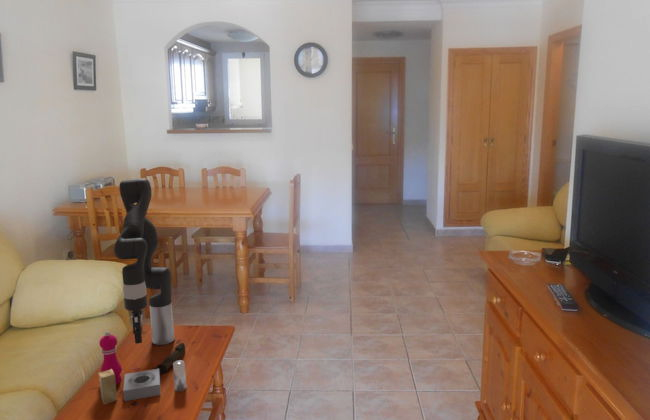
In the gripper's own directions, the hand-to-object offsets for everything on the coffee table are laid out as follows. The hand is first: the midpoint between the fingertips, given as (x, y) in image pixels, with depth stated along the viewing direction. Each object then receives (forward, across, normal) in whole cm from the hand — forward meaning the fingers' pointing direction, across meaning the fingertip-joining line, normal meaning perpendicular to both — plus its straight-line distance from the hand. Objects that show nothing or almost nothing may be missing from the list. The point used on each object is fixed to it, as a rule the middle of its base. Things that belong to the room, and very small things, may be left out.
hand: (139, 337), depth 178 cm
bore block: (+20, 0, 0) cm, 20 cm away
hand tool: (+20, -18, +11) cm, 29 cm away
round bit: (+20, +4, +13) cm, 24 cm away
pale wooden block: (+20, +3, -11) cm, 23 cm away
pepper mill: (+20, -10, -11) cm, 25 cm away
